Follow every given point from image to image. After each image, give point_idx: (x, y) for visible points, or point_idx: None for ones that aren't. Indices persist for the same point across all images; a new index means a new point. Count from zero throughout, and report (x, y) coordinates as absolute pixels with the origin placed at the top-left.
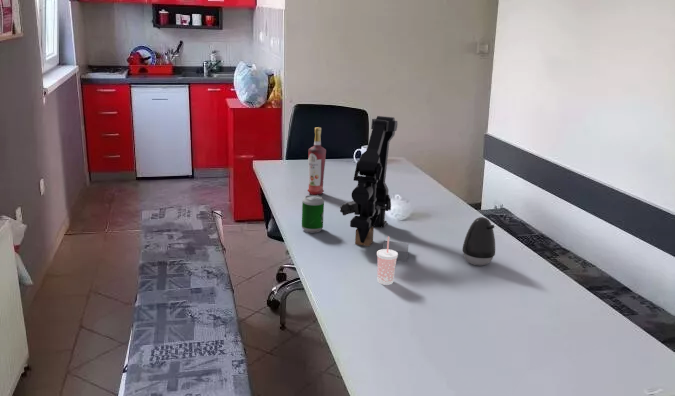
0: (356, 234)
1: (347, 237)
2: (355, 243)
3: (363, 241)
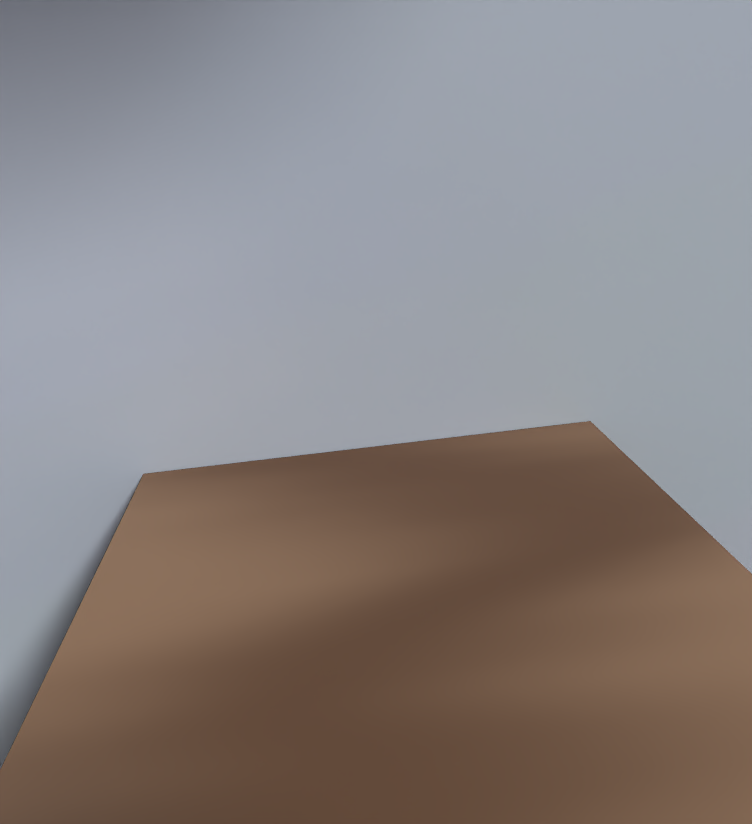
0: (41, 757)
1: (614, 24)
2: (144, 495)
3: None
